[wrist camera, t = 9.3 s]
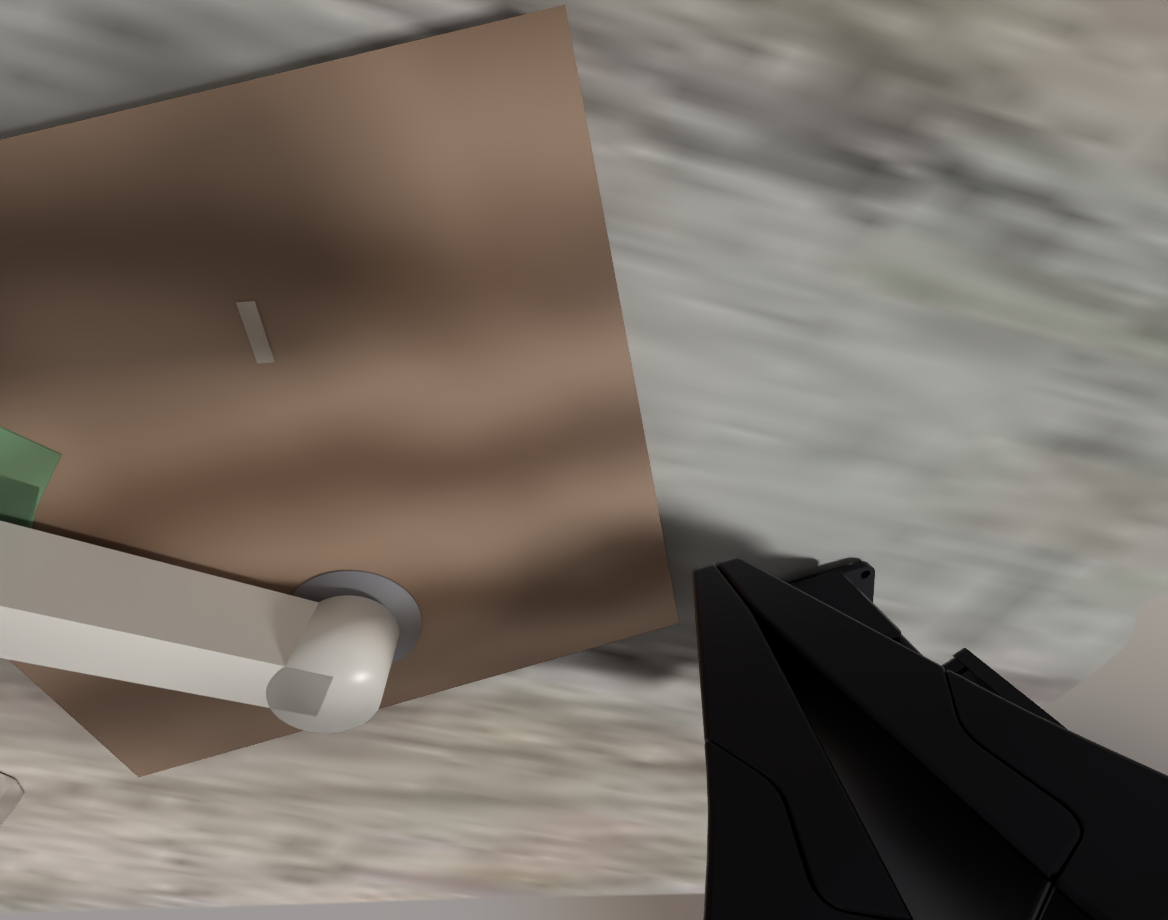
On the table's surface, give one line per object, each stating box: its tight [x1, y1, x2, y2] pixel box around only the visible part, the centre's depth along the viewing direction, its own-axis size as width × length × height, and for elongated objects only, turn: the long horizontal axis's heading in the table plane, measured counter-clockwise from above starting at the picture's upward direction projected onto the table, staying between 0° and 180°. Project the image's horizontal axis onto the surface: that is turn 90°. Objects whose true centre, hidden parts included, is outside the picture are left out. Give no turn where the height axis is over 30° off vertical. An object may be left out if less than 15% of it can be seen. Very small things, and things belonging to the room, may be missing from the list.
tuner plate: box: [0, 5, 679, 777], centre depth 17 cm, size 22×25×2 cm
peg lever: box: [0, 521, 399, 733], centre depth 15 cm, size 16×4×3 cm, turn 63°
